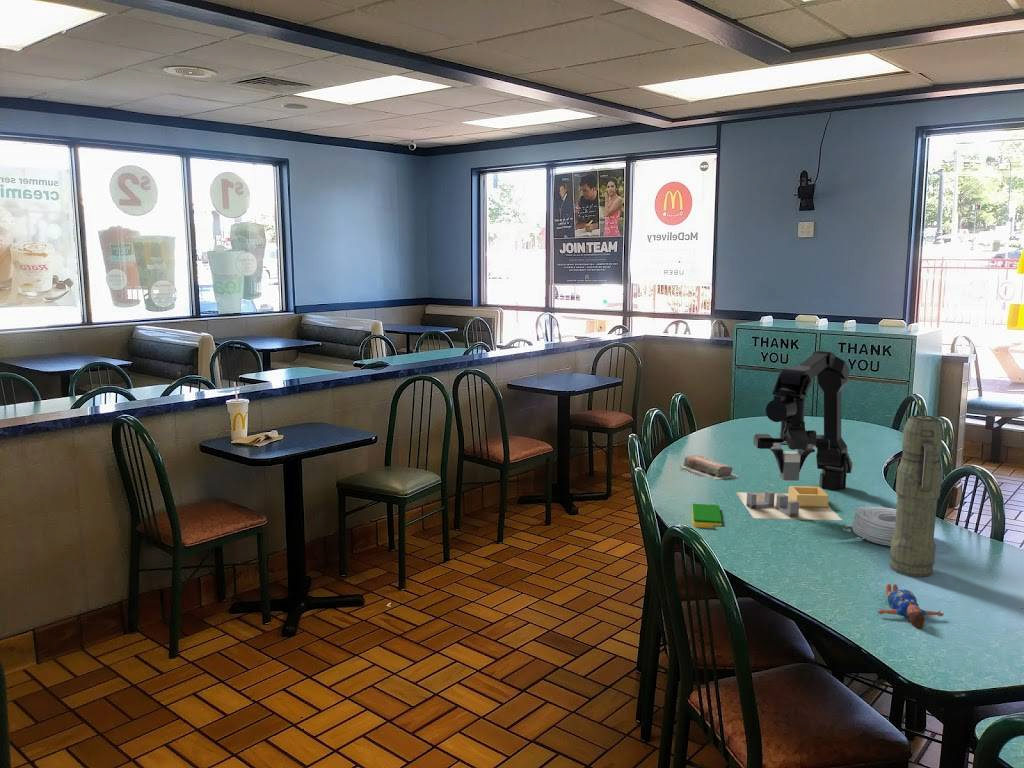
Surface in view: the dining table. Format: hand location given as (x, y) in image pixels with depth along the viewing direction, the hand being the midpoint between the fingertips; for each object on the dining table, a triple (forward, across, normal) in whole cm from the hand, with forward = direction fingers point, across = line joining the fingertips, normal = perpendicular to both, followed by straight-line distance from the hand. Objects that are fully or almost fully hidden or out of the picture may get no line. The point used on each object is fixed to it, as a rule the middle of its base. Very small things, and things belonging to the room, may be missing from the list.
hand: (789, 472), depth 217 cm
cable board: (+12, +1, +6) cm, 13 cm away
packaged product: (+13, -14, +40) cm, 44 cm away
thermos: (+12, +18, -36) cm, 42 cm away
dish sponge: (+12, -22, -5) cm, 26 cm away
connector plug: (+2, 0, 0) cm, 2 cm away
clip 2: (+11, 0, -1) cm, 11 cm away
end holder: (+11, +8, +8) cm, 16 cm away
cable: (+12, +21, -15) cm, 29 cm away
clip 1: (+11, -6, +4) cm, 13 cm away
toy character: (+12, +8, -59) cm, 61 cm away
